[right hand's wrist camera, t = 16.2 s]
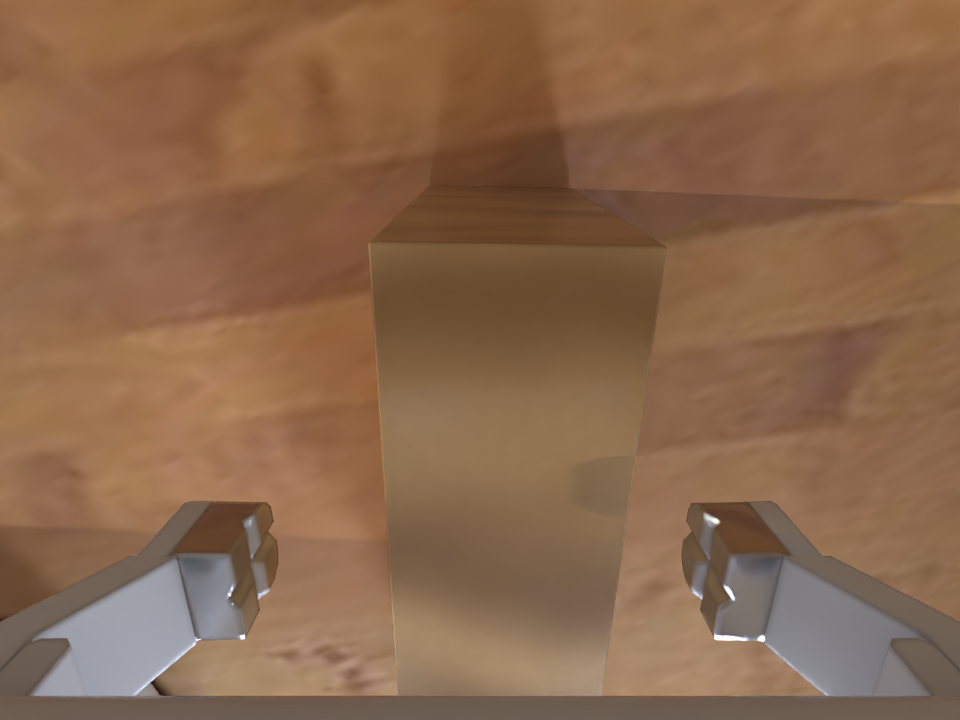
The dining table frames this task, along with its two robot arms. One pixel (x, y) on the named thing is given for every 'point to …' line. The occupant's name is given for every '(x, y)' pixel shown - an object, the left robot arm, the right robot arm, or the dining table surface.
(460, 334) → the box
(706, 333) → the dining table surface
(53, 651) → the right robot arm
